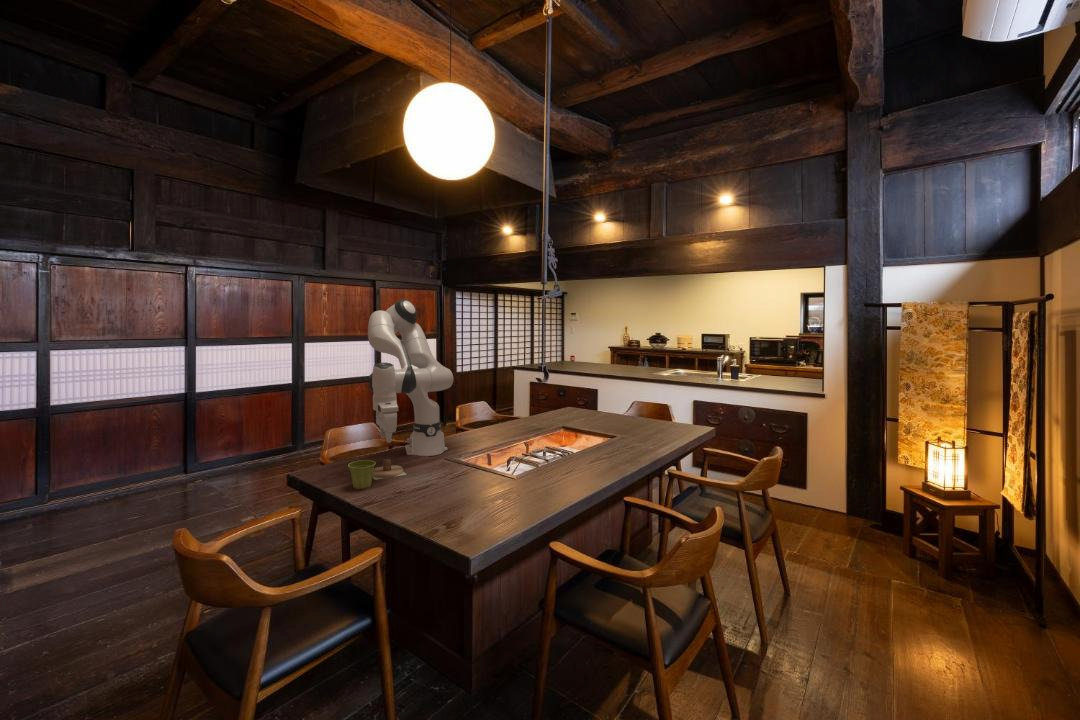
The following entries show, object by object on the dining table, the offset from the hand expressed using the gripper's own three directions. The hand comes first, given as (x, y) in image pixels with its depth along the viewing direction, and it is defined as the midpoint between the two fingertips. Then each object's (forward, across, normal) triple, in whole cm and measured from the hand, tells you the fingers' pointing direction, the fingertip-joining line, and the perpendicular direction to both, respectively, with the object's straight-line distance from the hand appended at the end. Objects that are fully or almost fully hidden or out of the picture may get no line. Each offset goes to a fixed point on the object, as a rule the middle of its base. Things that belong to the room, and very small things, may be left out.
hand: (386, 439), depth 182 cm
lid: (+13, -1, 0) cm, 13 cm away
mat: (+14, -1, 0) cm, 14 cm away
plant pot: (+14, +10, -11) cm, 20 cm away
